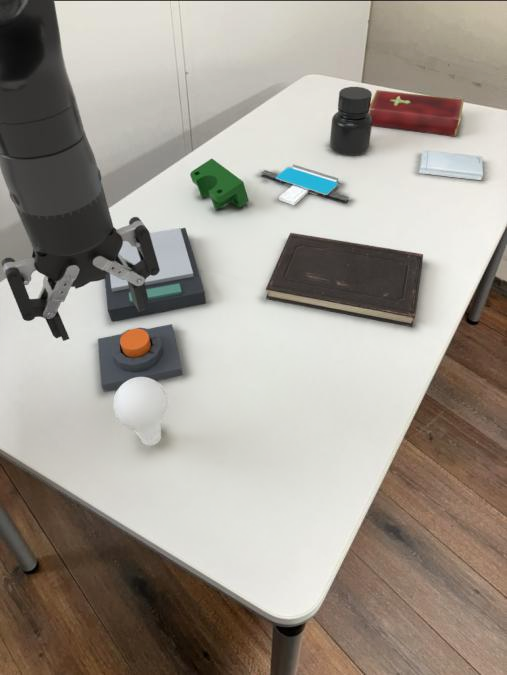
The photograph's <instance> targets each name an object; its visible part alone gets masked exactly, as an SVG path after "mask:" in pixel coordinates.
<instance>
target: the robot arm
mask: <svg viewBox="0 0 507 675" xmlns="http://www.w3.org/2000/svg"><path fill="white" fill-rule="evenodd" d="M58 20H59V19H58V14H57V8H56V3H55V0H0V172H1V175H2V177H3V180H4V183H5V185H6V188H7V190H8V193H9V197H10V199H11V201H12V203H13V205H14V206H15V209H16V211H17V214H18V216H19V218H20V221H21V224H22V226H23V228H24V231H25V233H26V235H27V237H28V241H29V242H30V244H31V247H32V255H31V257H27V258H24V259H23V258H22V259H19V260H15V259H14V258H12V257H6V258H4V259H3V260H2V261H1V267H2V269H3V272H4V275H5V277H6V280H7V282H8V285H9V287H10V288H9V289H10V290H11V293H12V295H13V298H14V300H15V303H16V305H17V307H18V310H19V312H20V315H21V318H22V319H23V321H26V322H31V321H33V320H35V318H42V319H45V321H46V323H47V326H48V328H49V329H50V332H51V334H52V336H53V337H54V338H55V339H59V338H61V340H62V342H64V341H67V340H70V339H71V338H70V337H69V334H68V331H67V329H66V326H65V324H64V321H63V320H62V317H61V315H60V313H59V308H60V305H61V304H62V303H64V302H65V301H66V299H67V296H68V294H69V292H70V290H71V288H75V290H77V289H79V288H82V287H85V286H86V285H88V284H89V283H92V282H100V281H102V280H105V278H106V277H105V276H106V275H107V274H108V273H110V274H112V275H114V276H116V277H118V278H119V279H121V280H127V282H128V285H129V289H130V293H131V296H132V300H133V302H134V304H135V306H136V308H137V309H138V311H139V312H140V311H143V310H145V306H144V305H145V304H148V296H147V291H146V287H145V280H146V278H147V277H148V276H150V275H152V276H154V275H157V274H158V273H159V271H160V269H159V265H158V262H157V258H156V255H155V251H154V247H153V244H152V240H151V237H150V233H151V232H150V230H148V228H147V227H146V225H145V224H144V223H143V221H142V220H141V218H140V217H138V216H133V217H131V218H130V219H129V220H128V225H125V226H122V227H120V228H116V227H114V224H113V220H112V216H111V213H110V209H109V205H108V202H107V198H106V194H105V189H104V186H103V182H102V179H103V177H102V174H101V170H100V169H99V167H98V164H97V160H96V157H95V153H94V152H93V148H92V146H91V144H90V142H89V139H88V137H87V134H86V131H85V128H84V124H83V120H82V116H81V113H80V109H79V106H78V102H77V99H76V94H75V92H74V88H73V85H72V82H71V80H70V77H69V74H68V70H67V67H66V63H65V59H64V54H63V53H64V52H63V48H62V41H61V40H62V39H61V33H60V26H59V21H58ZM123 241H128V242H129V243H130V244H131V246H133V247H137V250H138V254H139V257H140V260H141V261H139V262H138V263H136V264H133V263H131V262H129V261H128V260H126V259H124V258H123V257H122V256H121V255H120V254H119V252H120V250H121V247H122V245H123ZM36 271H37V272H38V273H39V274H41V275H42V276H44V277H43V281H42V283H43V284H42V288H41V290H40V292H39V295H38V296H37V298H30V296H29V293H28V290H27V288H26V286H28V285H29V284H30V282H31V281H32V275H33V273H34V272H36Z"/></svg>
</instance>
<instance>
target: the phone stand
mask: <svg viewBox="0 0 507 675" xmlns="http://www.w3.org/2000/svg"><path fill="white" fill-rule="evenodd" d="M260 177H263V178H265V179H268V180H270V181H274V182H276V183H280V184H283V185H285V186H288V187H289V188H287V189H286V190H285V191H284V192H283V193H282V194H281V195H280V196H278V201H281V202H283V203H286V204H289V205H292V206H295V205H297V204H298V202H300V201H301V200H302V199H303V198H304V197H305V196H307V195H308V193H310V194H313V195H315V196H319V197H322V198H325V199H329V200H331V201H334V202H336V203H337V202H339V203H342V204H347V203H348V202H349V201H350V196H347V195H345V194H341V193H338V192H335V190H336V189H338V188H339V187H340V186H341V182H339V178H338V177H335V176H332V175H329V174H325V173H322V172H319V171H316V170H314V169H313V170H312V169H310V168H306V167H303V166H300V165H297V164H292V166H291V167H290V166H289V167H286V168H285V169H284V170H282V171H281V172H279V173H276V172H272V171H270V170H267V169H265V170H263V171H262V172H261V175H260Z"/></svg>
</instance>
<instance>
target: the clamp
mask: <svg viewBox="0 0 507 675" xmlns="http://www.w3.org/2000/svg"><path fill="white" fill-rule="evenodd" d="M189 177H190V179H191V181H192V183H193V184H195V186H196V187H197V189H198V192H199V195H200V198H201V200H204V199H206V198H207V197H210V200H211V202H212V205H213V208H214V210H215V211H218V210H220V209H221V208H223V207H224V206H226V205H227V204H228V203H230V202H231V203H232V204H233V205H235V206H236V207H237V208H241V207H243V206H244V205H246V204H248V203H249V196H248V193H247V190H246V186H245V182H244V181H243V180H242V179H241V178H239V177H237V176H236V175H235V174H234V173H232V172H231V170H229V169H227V168H226V167H224V166H223V165H222V164H221V163H219V162H218V161H216V160H215V159H214V158H210V159H209V160H207V161H205V162H204V163H202V164H200V165H199V166H198V167H196V168H195V169H193V170H192V171H191V172H190V174H189Z"/></svg>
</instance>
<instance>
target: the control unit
mask: <svg viewBox="0 0 507 675" xmlns="http://www.w3.org/2000/svg"><path fill="white" fill-rule="evenodd" d="M131 329H132V328H130V329H127V330H125V331H124V332H122V333H120V334H116V335H110V336H105V337H99V338H97V344H98V345H97V346H98V357H99V371H100V372H99V374H100V386H101V388H102V390H103V392H107V391H112V390H118V389H119V387H120V386H121V385H122V384H123V383H124V382H126V381H128V380H130V379H132V378H135V377H147V378H150V379H153V380H155V381H159V380H164V379H168V378H173V377H177V376H181V375H183V374H184V373H183V368H182V364H181V359H180V354H179V350H178V345H177V340H176V336H175V331H174V326H173V323H172V324H166V325H160V326H155V327H151V328H145V327H136V328H134V329H142V330H145V331H146V332H147V333H148V335H149V338H150V342H151V348H150V350H149V352H148V353H147V354H145V355H144V356H141V357H137V358H131V357H128V356H126V355H125V354H124V353H123V350H122V347H121V344H120V339H121V336H122V335H123V334H124V333H125V332H127V331H129V330H131Z"/></svg>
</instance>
